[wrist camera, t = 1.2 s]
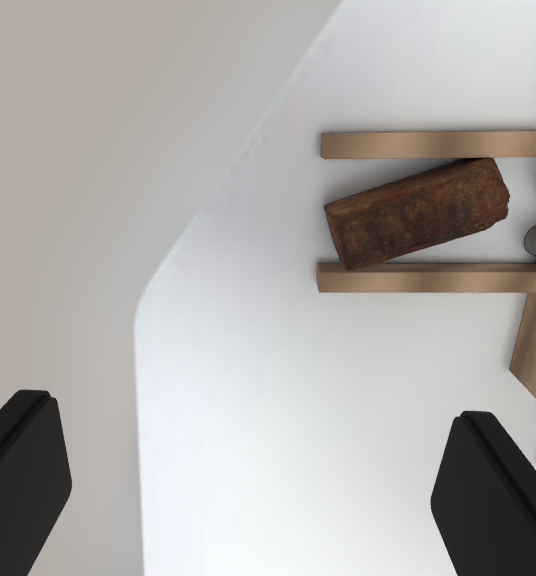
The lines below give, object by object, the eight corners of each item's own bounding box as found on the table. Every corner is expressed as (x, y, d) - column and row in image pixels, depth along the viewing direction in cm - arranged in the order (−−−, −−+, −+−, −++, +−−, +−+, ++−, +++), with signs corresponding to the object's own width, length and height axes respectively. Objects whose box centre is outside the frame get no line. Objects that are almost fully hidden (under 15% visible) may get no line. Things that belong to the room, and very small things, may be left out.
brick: (336, 254, 30) (346, 276, 26) (322, 203, 29) (329, 217, 24) (482, 209, 29) (518, 224, 24) (474, 153, 27) (511, 158, 23)
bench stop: (674, -14, 23) (826, -68, 17) (559, 370, 33) (627, 430, 26) (327, -7, 24) (344, -56, 17) (313, 368, 34) (321, 427, 27)
